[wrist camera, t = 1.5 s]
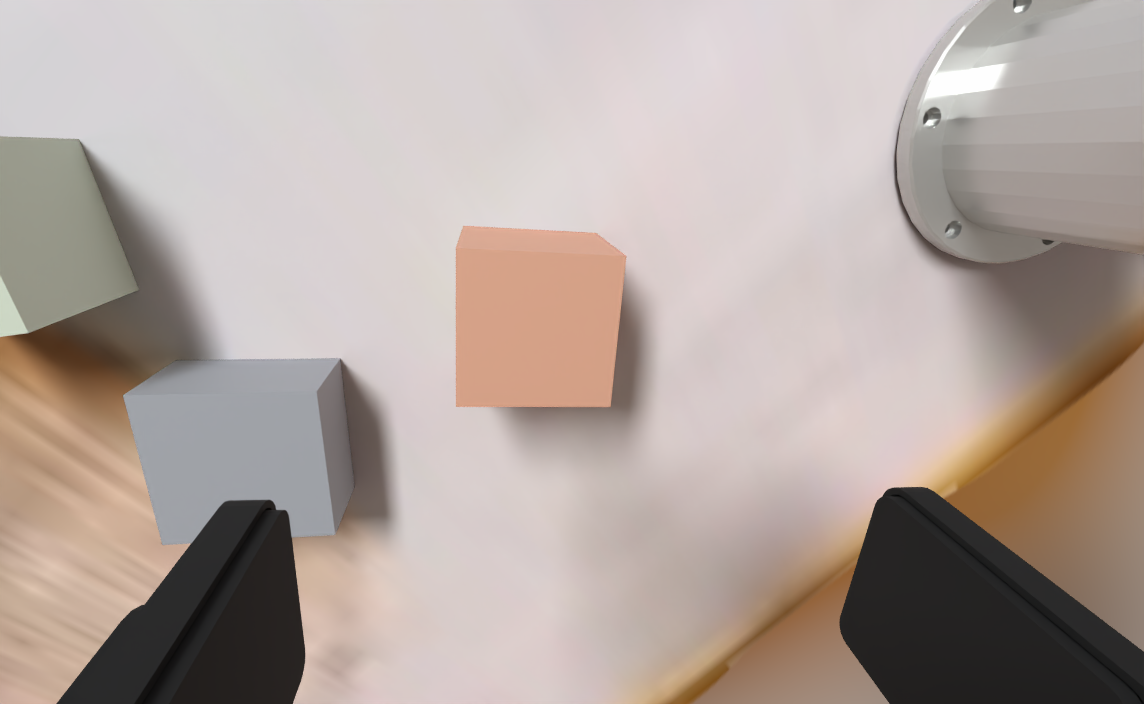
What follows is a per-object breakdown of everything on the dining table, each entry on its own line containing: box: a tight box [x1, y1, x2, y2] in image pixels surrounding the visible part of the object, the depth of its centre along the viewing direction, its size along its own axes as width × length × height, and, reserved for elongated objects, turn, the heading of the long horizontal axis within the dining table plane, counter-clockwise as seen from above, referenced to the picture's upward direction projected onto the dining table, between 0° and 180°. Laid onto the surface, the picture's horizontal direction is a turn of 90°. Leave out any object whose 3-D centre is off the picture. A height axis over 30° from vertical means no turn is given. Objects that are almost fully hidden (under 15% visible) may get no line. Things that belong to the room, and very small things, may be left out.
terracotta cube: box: [456, 226, 626, 407], centre depth 23 cm, size 6×6×6 cm
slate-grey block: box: [123, 358, 355, 545], centre depth 24 cm, size 7×7×4 cm
